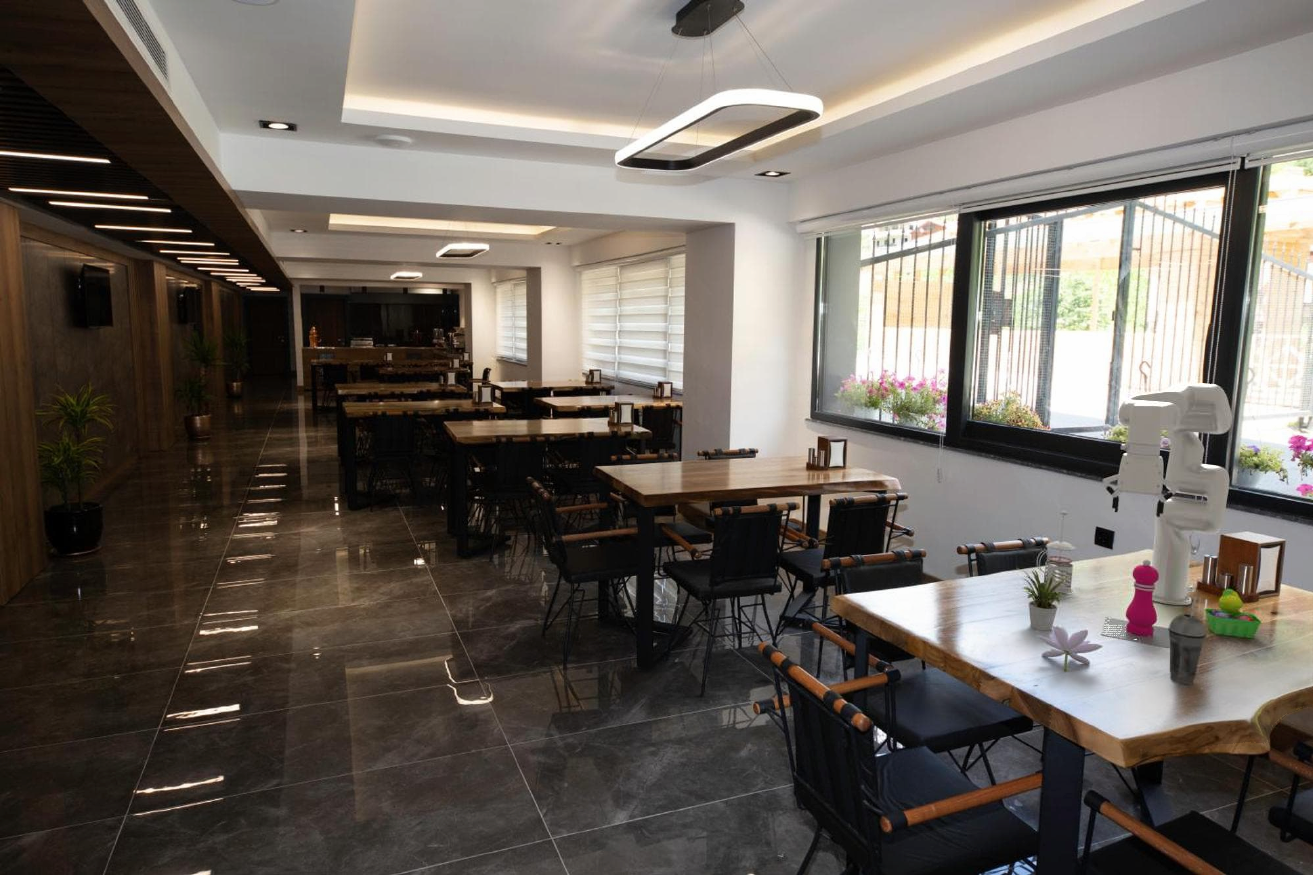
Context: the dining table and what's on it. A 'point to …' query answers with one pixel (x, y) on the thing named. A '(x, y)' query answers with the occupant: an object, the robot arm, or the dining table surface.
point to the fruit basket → (1232, 617)
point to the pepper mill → (1142, 601)
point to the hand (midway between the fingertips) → (1136, 513)
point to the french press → (1059, 565)
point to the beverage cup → (1185, 646)
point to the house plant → (1043, 602)
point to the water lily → (1069, 645)
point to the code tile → (1158, 637)
